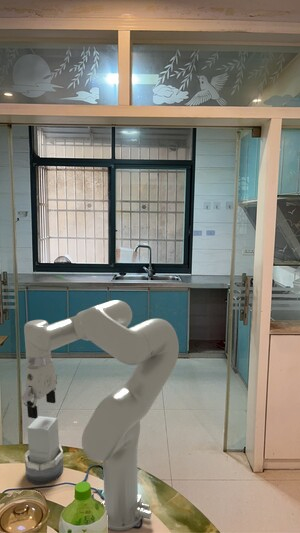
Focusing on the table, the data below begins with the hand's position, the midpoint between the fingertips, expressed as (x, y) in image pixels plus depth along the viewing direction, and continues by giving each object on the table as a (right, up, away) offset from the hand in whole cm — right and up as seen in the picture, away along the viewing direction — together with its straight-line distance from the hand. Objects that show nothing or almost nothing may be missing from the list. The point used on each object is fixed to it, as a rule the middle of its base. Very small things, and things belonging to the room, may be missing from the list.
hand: (42, 409), depth 118 cm
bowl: (0, -22, +3) cm, 22 cm away
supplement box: (0, -17, +3) cm, 17 cm away
